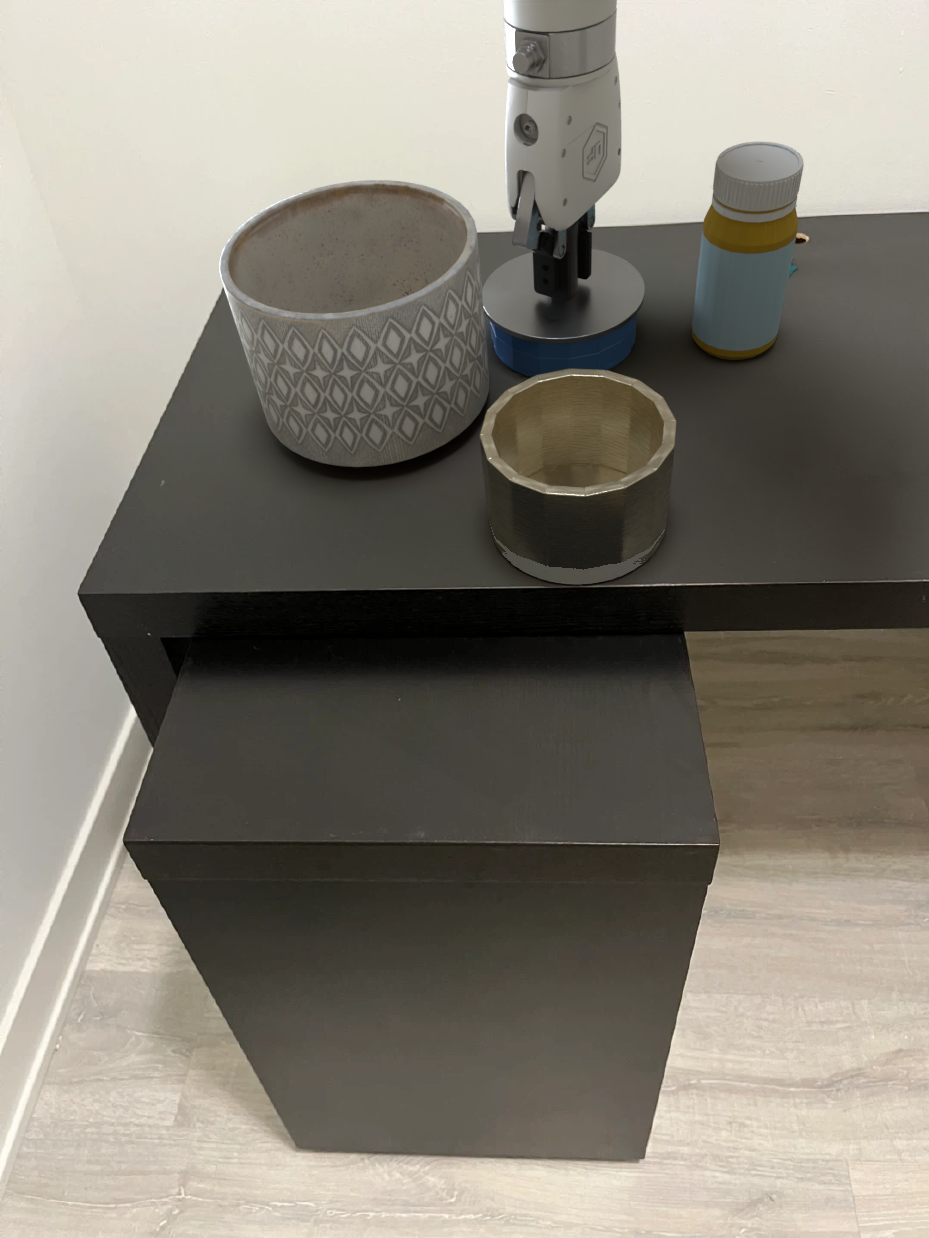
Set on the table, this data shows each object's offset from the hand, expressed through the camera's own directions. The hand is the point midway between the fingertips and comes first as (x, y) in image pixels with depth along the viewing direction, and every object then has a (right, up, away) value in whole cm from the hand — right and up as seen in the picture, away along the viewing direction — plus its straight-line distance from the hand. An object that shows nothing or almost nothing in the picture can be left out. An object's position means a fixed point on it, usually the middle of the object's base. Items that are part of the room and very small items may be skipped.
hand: (562, 283), depth 78 cm
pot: (0, -21, -10) cm, 23 cm away
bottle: (+15, -4, +2) cm, 15 cm away
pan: (+1, -3, +4) cm, 5 cm away
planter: (-15, -10, +1) cm, 18 cm away
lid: (0, -1, +1) cm, 1 cm away
